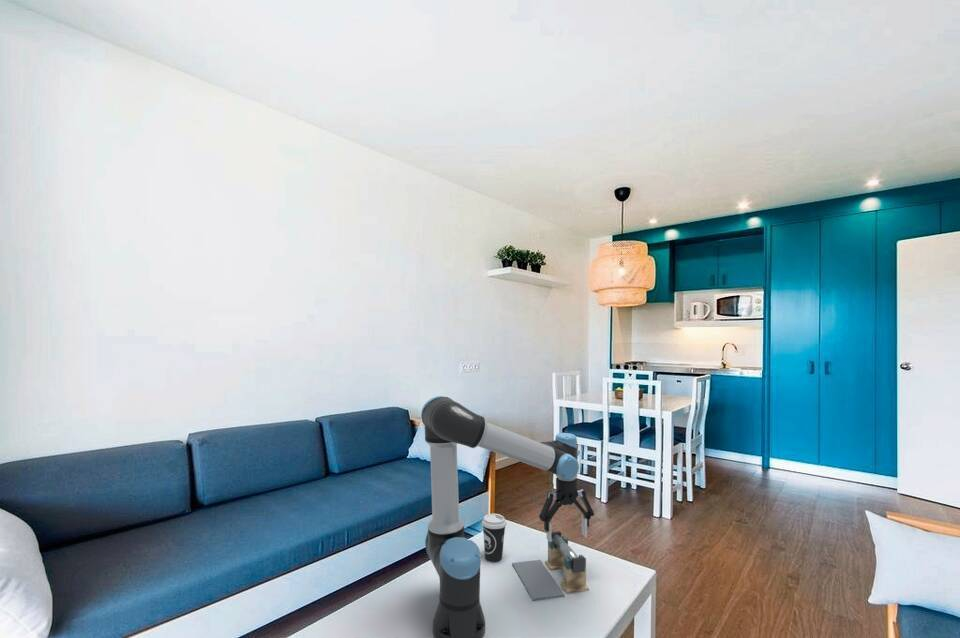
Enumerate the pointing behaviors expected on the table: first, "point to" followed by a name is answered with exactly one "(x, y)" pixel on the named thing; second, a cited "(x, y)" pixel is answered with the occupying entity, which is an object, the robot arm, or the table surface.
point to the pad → (537, 580)
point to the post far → (555, 556)
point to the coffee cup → (493, 536)
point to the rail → (568, 553)
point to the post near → (573, 578)
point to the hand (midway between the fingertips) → (566, 538)
